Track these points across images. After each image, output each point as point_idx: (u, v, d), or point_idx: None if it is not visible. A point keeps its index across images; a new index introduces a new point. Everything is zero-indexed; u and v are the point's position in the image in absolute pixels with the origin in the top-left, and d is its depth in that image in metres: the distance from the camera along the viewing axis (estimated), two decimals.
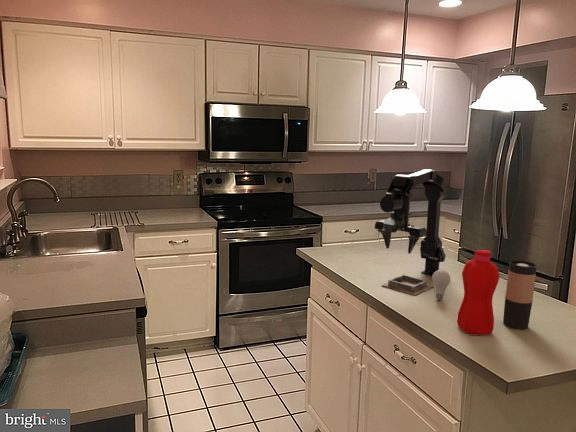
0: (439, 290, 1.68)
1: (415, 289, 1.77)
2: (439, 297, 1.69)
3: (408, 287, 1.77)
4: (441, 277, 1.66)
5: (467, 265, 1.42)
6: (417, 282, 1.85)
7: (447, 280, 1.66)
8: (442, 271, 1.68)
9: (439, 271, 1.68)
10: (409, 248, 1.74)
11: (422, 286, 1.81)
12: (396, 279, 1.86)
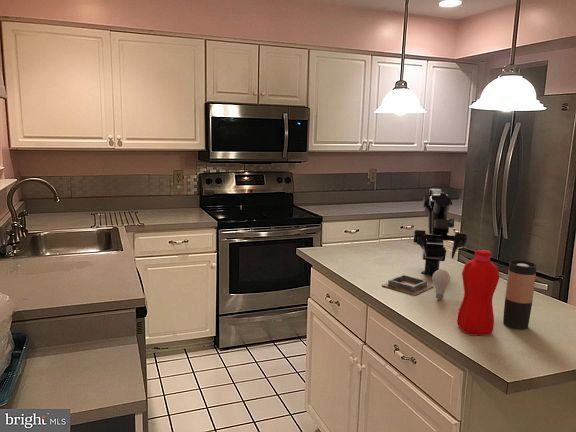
0: (439, 290, 1.68)
1: (415, 289, 1.77)
2: (439, 297, 1.69)
3: (408, 287, 1.77)
4: (441, 277, 1.66)
5: (467, 265, 1.42)
6: (417, 282, 1.85)
7: (447, 280, 1.66)
8: (442, 271, 1.68)
9: (439, 271, 1.68)
10: (454, 252, 1.76)
11: (422, 286, 1.81)
12: (396, 279, 1.86)
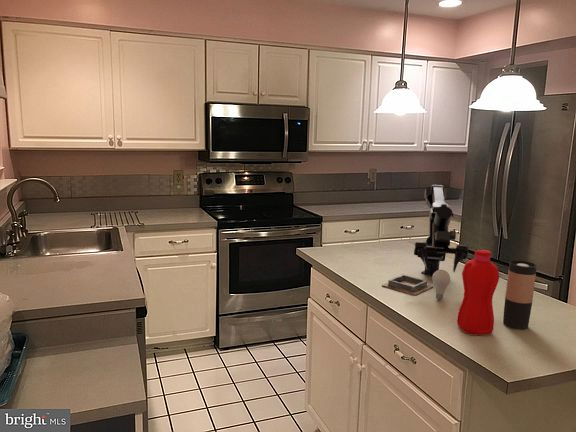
0: (439, 290, 1.68)
1: (415, 289, 1.77)
2: (439, 297, 1.69)
3: (408, 287, 1.77)
4: (441, 277, 1.66)
5: (467, 265, 1.42)
6: (417, 282, 1.85)
7: (447, 280, 1.66)
8: (442, 271, 1.68)
9: (439, 271, 1.68)
10: (455, 265, 1.71)
11: (422, 286, 1.81)
12: (396, 279, 1.86)
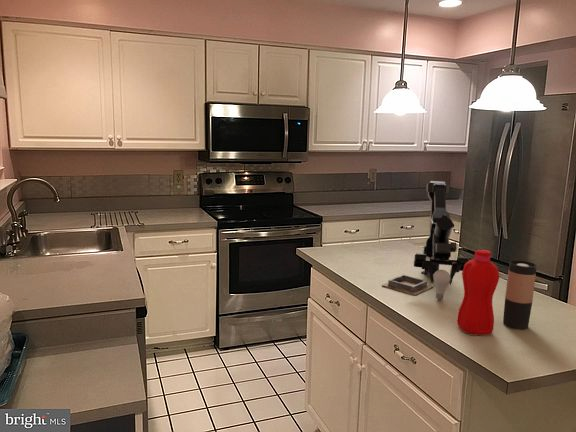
0: (439, 290, 1.68)
1: (415, 289, 1.77)
2: (439, 297, 1.69)
3: (408, 287, 1.77)
4: (441, 277, 1.66)
5: (467, 265, 1.42)
6: (417, 282, 1.85)
7: (447, 280, 1.66)
8: (442, 271, 1.68)
9: (439, 271, 1.68)
10: (451, 277, 1.68)
11: (422, 286, 1.81)
12: (396, 279, 1.86)
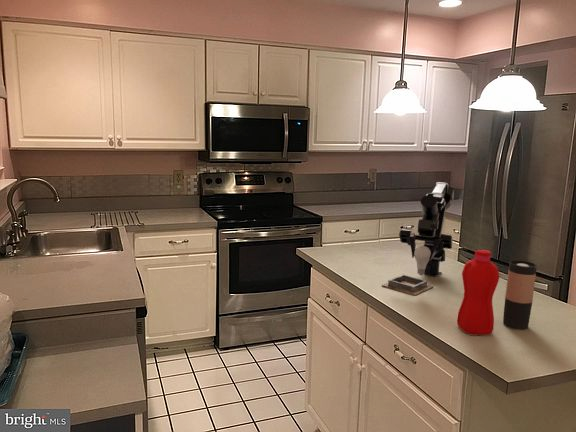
0: (419, 265, 1.74)
1: (415, 289, 1.77)
2: (419, 272, 1.75)
3: (408, 287, 1.77)
4: (420, 252, 1.72)
5: (467, 265, 1.42)
6: (417, 282, 1.85)
7: (426, 256, 1.72)
8: (423, 247, 1.73)
9: (420, 247, 1.74)
10: (431, 253, 1.73)
11: (422, 286, 1.81)
12: (396, 279, 1.86)
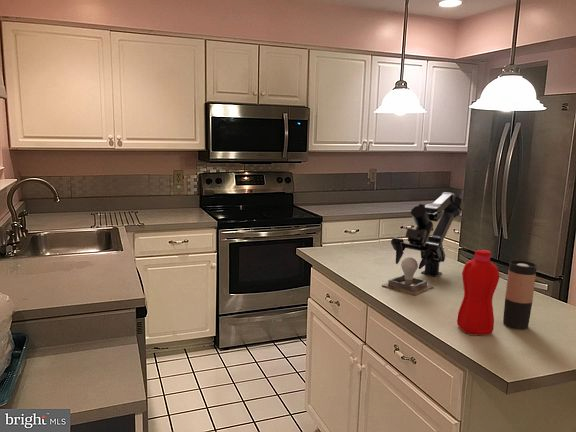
0: (406, 275, 1.81)
1: (415, 289, 1.77)
2: (406, 283, 1.82)
3: (408, 287, 1.77)
4: (405, 263, 1.80)
5: (467, 265, 1.42)
6: (417, 282, 1.85)
7: (411, 267, 1.79)
8: (408, 258, 1.81)
9: (406, 258, 1.81)
10: (421, 262, 1.78)
11: (422, 286, 1.81)
12: (396, 279, 1.86)
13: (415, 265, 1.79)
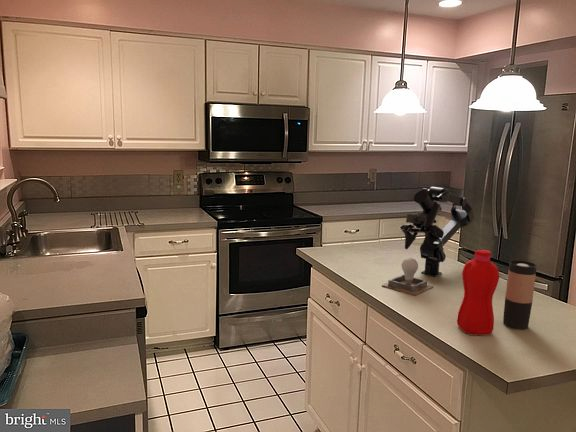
0: (406, 276, 1.81)
1: (415, 289, 1.77)
2: (406, 283, 1.82)
3: (408, 287, 1.77)
4: (405, 263, 1.79)
5: (467, 265, 1.42)
6: (417, 282, 1.85)
7: (411, 267, 1.79)
8: (409, 259, 1.80)
9: (407, 258, 1.81)
10: (423, 244, 1.85)
11: (422, 286, 1.81)
12: (396, 279, 1.86)
13: (415, 266, 1.79)
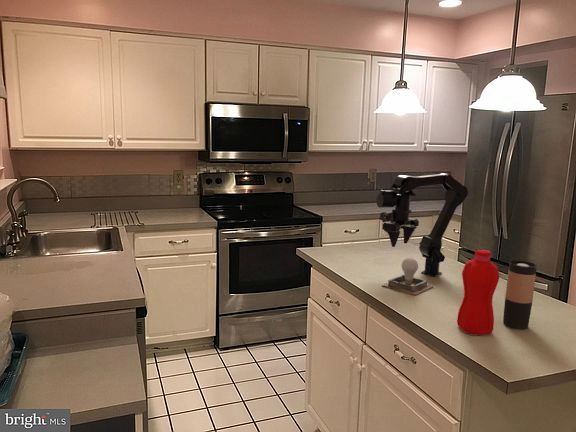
0: (406, 276, 1.81)
1: (415, 289, 1.77)
2: (406, 283, 1.82)
3: (408, 287, 1.77)
4: (405, 263, 1.79)
5: (467, 265, 1.42)
6: (417, 282, 1.85)
7: (411, 267, 1.79)
8: (409, 259, 1.80)
9: (407, 258, 1.81)
10: None
11: (422, 286, 1.81)
12: (396, 279, 1.86)
13: (415, 266, 1.79)
